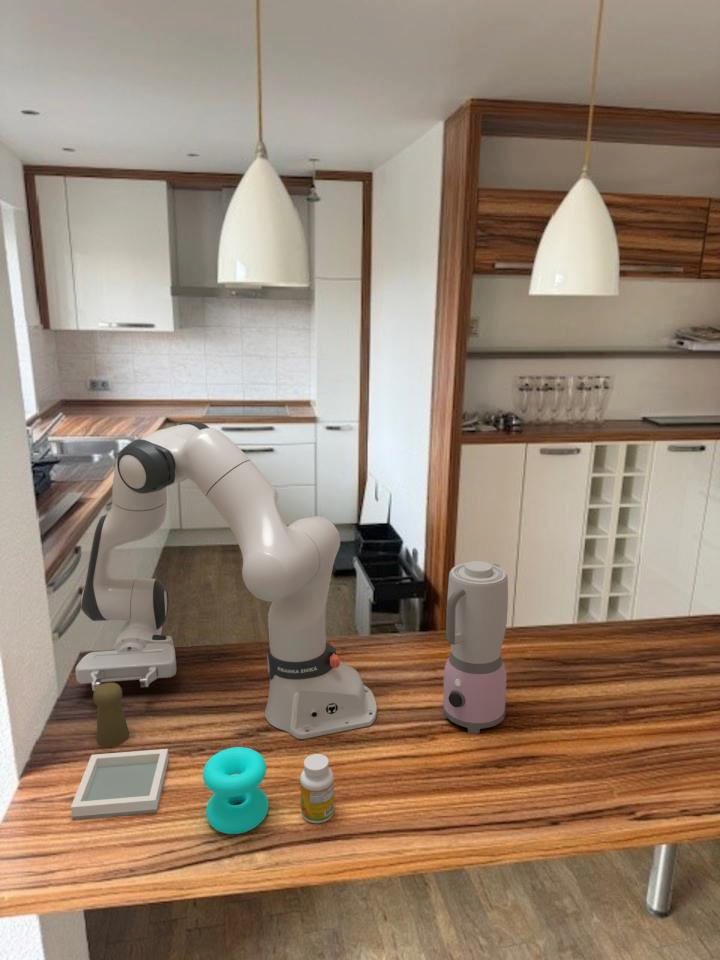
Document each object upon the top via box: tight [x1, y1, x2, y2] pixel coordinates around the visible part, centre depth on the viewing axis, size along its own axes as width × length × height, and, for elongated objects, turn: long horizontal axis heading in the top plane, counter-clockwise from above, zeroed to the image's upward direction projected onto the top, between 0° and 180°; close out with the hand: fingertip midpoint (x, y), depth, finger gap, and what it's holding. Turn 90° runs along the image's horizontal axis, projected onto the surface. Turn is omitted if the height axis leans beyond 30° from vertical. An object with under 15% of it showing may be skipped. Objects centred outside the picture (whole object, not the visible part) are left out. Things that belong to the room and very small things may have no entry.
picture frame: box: [70, 748, 170, 821], centre depth 123 cm, size 13×13×2 cm
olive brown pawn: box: [92, 682, 130, 748], centre depth 136 cm, size 6×6×11 cm
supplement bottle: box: [299, 753, 335, 824], centre depth 116 cm, size 5×5×10 cm
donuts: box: [202, 746, 269, 835], centre depth 115 cm, size 10×10×10 cm
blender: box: [442, 560, 509, 735], centre depth 137 cm, size 16×12×32 cm
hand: (119, 685), depth 144 cm, fingers open, 8 cm apart
